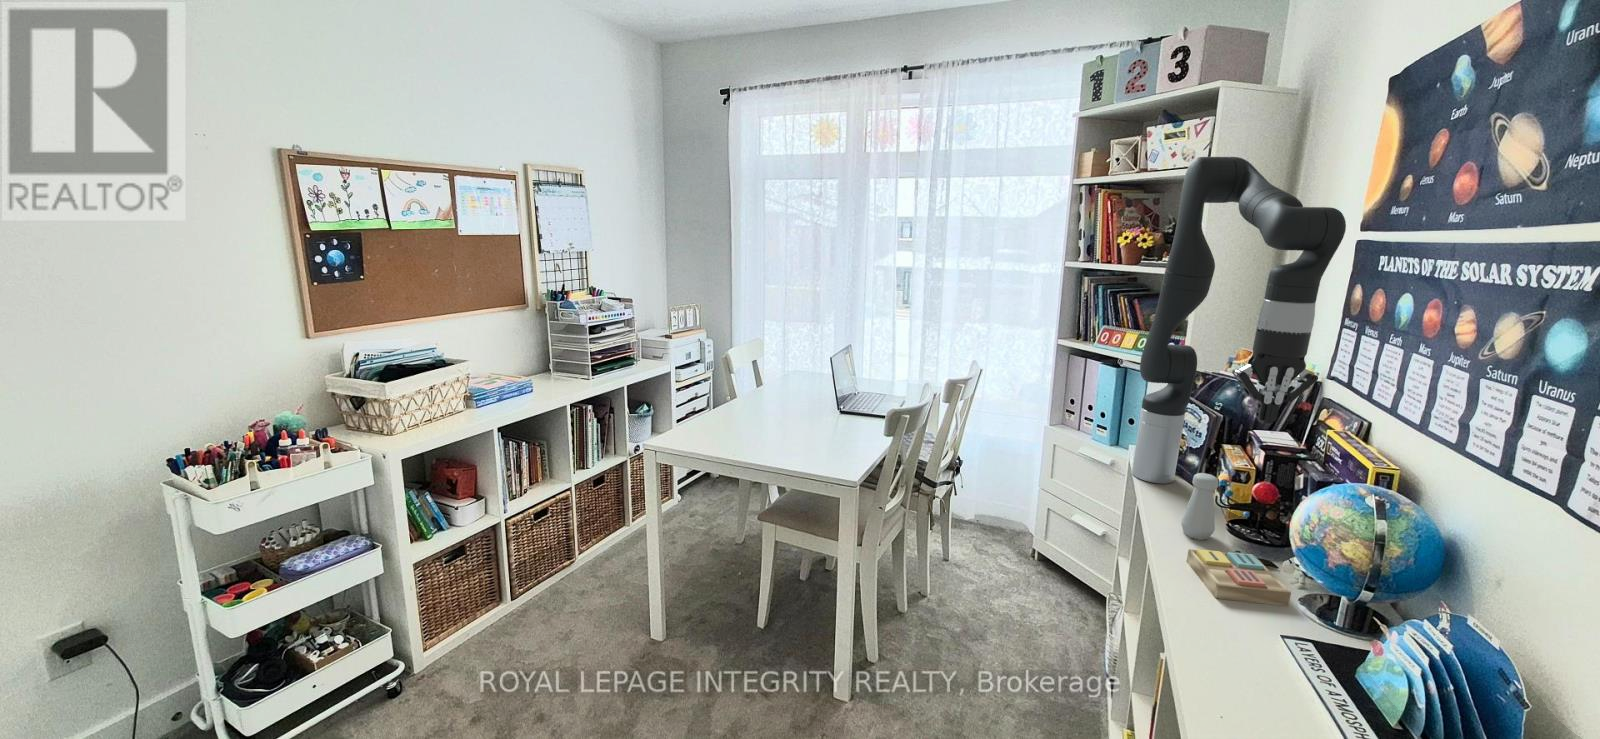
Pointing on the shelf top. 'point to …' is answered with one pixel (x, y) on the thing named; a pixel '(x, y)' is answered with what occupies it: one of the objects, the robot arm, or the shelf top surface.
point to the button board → (1229, 590)
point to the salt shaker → (1200, 508)
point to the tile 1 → (1213, 558)
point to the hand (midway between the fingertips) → (1264, 422)
